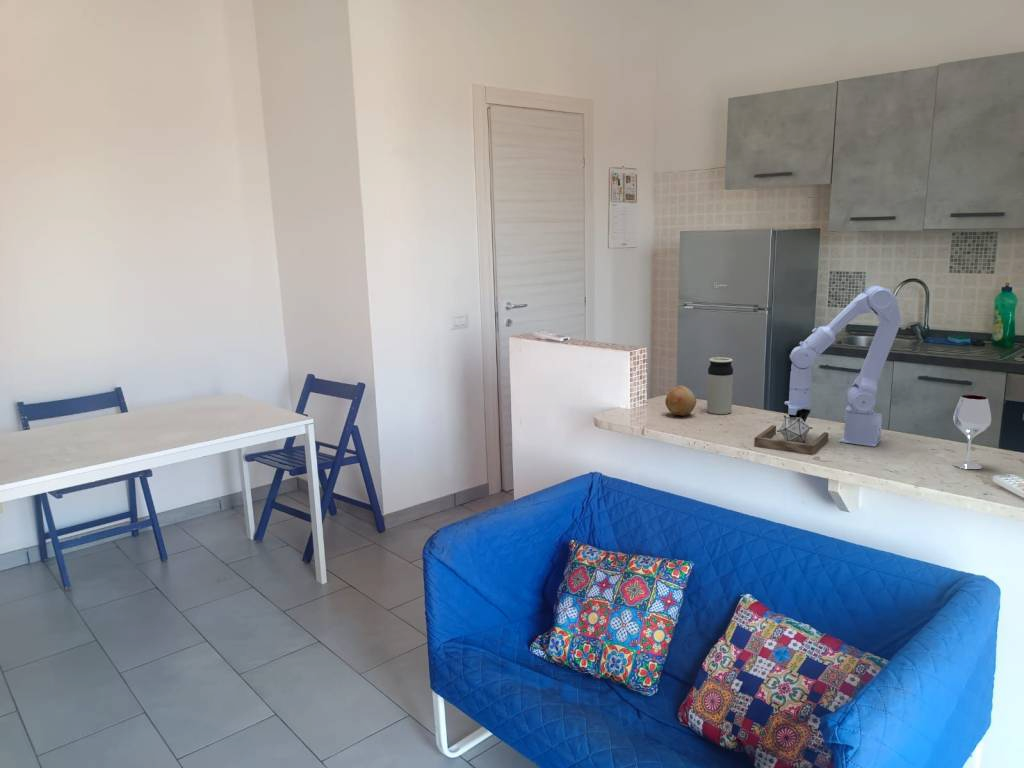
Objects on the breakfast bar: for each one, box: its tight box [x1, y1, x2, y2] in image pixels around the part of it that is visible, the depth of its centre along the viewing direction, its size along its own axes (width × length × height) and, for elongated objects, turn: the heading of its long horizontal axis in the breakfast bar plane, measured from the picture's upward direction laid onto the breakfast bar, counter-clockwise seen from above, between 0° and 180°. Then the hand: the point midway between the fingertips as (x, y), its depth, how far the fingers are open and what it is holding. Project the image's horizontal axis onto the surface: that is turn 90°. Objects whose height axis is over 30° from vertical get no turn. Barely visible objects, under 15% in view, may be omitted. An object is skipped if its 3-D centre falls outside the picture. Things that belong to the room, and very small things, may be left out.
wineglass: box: [952, 394, 992, 470], centre depth 190 cm, size 8×8×18 cm
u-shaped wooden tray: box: [753, 425, 830, 456], centre depth 215 cm, size 16×16×2 cm
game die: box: [776, 415, 813, 444], centre depth 215 cm, size 9×8×10 cm
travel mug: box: [706, 356, 734, 415], centre depth 252 cm, size 8×8×18 cm
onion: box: [664, 385, 697, 417], centre depth 249 cm, size 10×10×10 cm
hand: (797, 434), depth 220 cm, fingers closed
